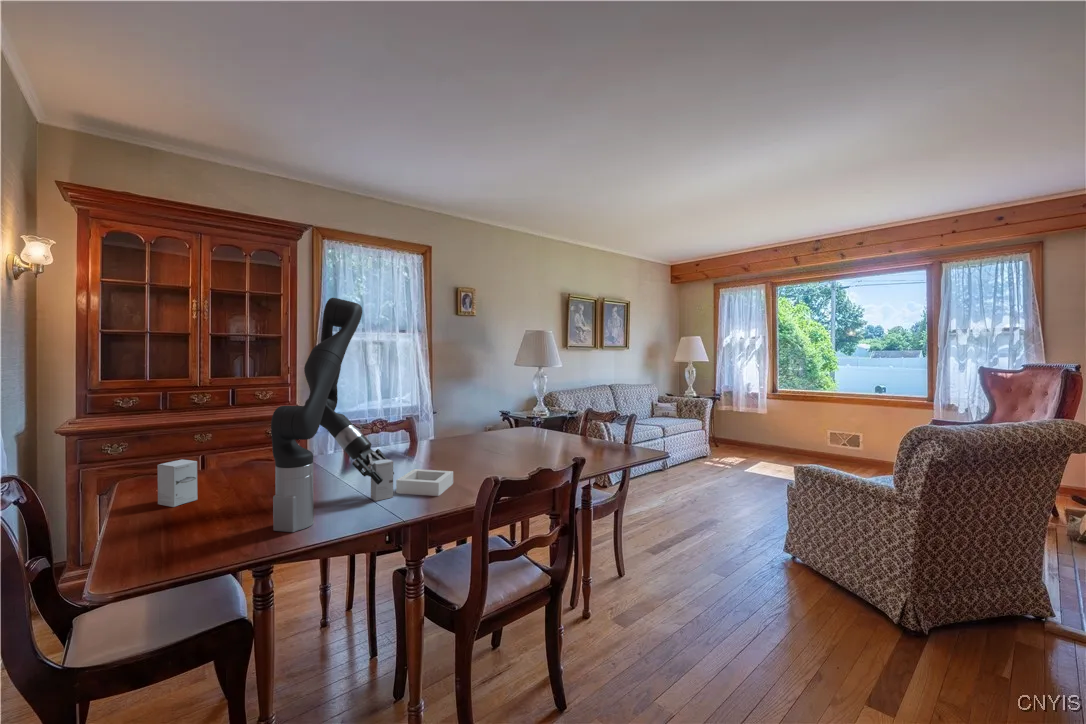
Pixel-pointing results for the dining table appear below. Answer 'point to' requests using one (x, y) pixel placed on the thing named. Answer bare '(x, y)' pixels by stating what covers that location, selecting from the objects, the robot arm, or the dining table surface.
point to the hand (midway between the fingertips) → (386, 478)
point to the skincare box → (386, 486)
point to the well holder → (424, 482)
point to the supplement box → (177, 482)
